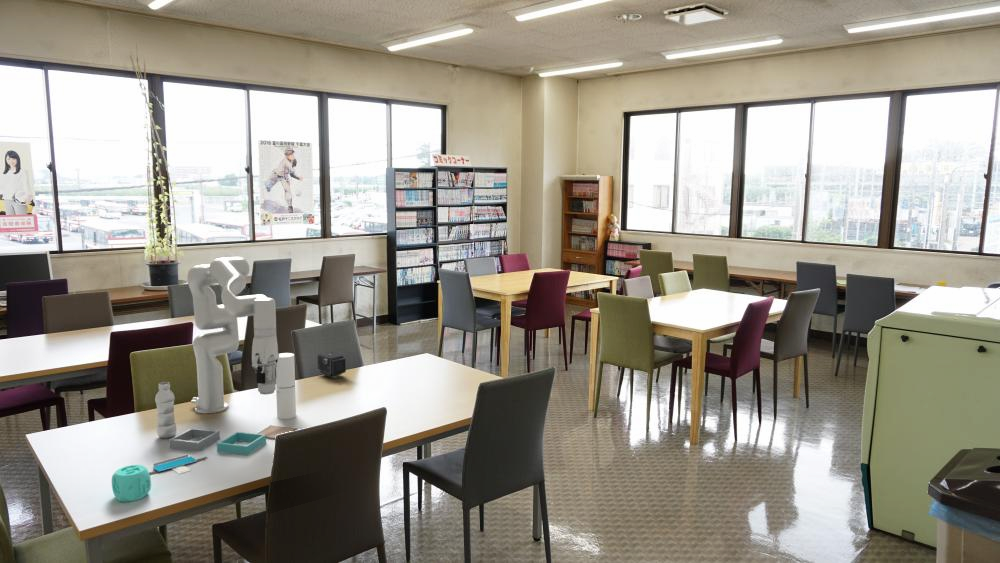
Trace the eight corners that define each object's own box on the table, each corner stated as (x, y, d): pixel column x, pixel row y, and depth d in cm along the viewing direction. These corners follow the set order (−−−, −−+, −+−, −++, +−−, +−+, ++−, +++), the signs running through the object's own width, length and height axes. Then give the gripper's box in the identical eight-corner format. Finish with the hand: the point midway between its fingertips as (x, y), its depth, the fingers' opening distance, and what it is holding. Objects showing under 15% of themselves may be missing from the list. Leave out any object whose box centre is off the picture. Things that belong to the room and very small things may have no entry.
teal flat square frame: (217, 451, 229) (216, 443, 229) (237, 439, 240) (237, 431, 240) (247, 455, 226) (246, 446, 226) (266, 442, 238) (265, 434, 237)
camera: (315, 377, 324) (331, 381, 313) (313, 354, 323) (329, 357, 312) (334, 373, 331) (350, 376, 321) (332, 351, 331) (349, 353, 320)
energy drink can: (271, 388, 246) (270, 349, 244) (278, 392, 242) (277, 352, 240) (255, 392, 242) (254, 351, 240) (262, 396, 238) (261, 355, 236)
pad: (253, 437, 243) (253, 435, 243) (270, 426, 253) (270, 425, 253) (281, 439, 240) (281, 438, 240) (296, 429, 251) (296, 427, 251)
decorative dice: (122, 505, 190) (120, 478, 189) (112, 496, 195) (110, 470, 194) (151, 495, 196) (150, 469, 195) (141, 487, 201) (139, 462, 200)
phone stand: (151, 483, 205) (151, 478, 205) (137, 472, 213) (137, 467, 213) (216, 465, 219) (215, 460, 219) (200, 455, 227) (200, 450, 227)
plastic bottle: (157, 441, 238) (154, 387, 235) (157, 435, 244) (153, 382, 241) (177, 438, 241) (174, 384, 238) (176, 432, 247) (173, 379, 244)
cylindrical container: (290, 419, 261) (288, 357, 258) (273, 418, 263) (271, 356, 260) (299, 413, 268) (297, 353, 265) (283, 412, 270) (281, 352, 266)
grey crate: (169, 447, 232) (169, 439, 231) (191, 436, 243) (191, 428, 243) (198, 451, 229) (198, 442, 229) (219, 439, 241) (219, 431, 240)
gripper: (269, 326, 248) (271, 373, 251) (241, 336, 231) (242, 386, 234) (287, 328, 246) (288, 375, 249) (260, 338, 230) (261, 388, 232)
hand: (266, 380), depth 241 cm, fingers closed on energy drink can, 6 cm apart
